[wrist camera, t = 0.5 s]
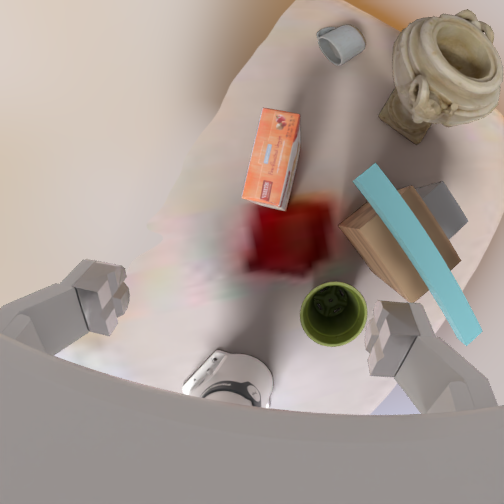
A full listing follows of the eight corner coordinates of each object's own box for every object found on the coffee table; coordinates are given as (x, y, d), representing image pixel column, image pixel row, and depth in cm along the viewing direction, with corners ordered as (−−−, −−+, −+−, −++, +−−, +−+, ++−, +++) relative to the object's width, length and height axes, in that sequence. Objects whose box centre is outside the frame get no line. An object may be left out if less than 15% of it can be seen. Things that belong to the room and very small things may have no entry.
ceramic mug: (366, 54, 58) (371, 37, 50) (340, 71, 59) (342, 54, 52) (333, 25, 58) (334, 6, 51) (307, 41, 60) (306, 23, 52)
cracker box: (288, 212, 64) (280, 208, 44) (259, 205, 65) (237, 198, 44) (303, 146, 62) (301, 113, 42) (274, 139, 63) (260, 105, 43)
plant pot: (319, 260, 64) (322, 269, 53) (368, 288, 63) (380, 302, 52) (290, 310, 66) (287, 327, 55) (338, 336, 65) (344, 357, 54)
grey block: (410, 240, 60) (440, 247, 45) (388, 209, 61) (413, 206, 45) (433, 220, 59) (468, 221, 43) (412, 189, 59) (442, 181, 44)
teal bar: (457, 338, 36) (466, 345, 33) (352, 181, 37) (356, 178, 34) (473, 324, 36) (482, 331, 33) (370, 166, 36) (375, 162, 33)
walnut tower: (372, 272, 62) (411, 304, 37) (337, 225, 63) (359, 229, 37) (405, 245, 61) (461, 260, 35) (371, 198, 61) (412, 185, 36)
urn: (394, 53, 56) (432, -27, 27) (460, 99, 55) (528, 44, 25) (346, 130, 61) (374, 66, 31) (419, 181, 59) (493, 156, 30)
